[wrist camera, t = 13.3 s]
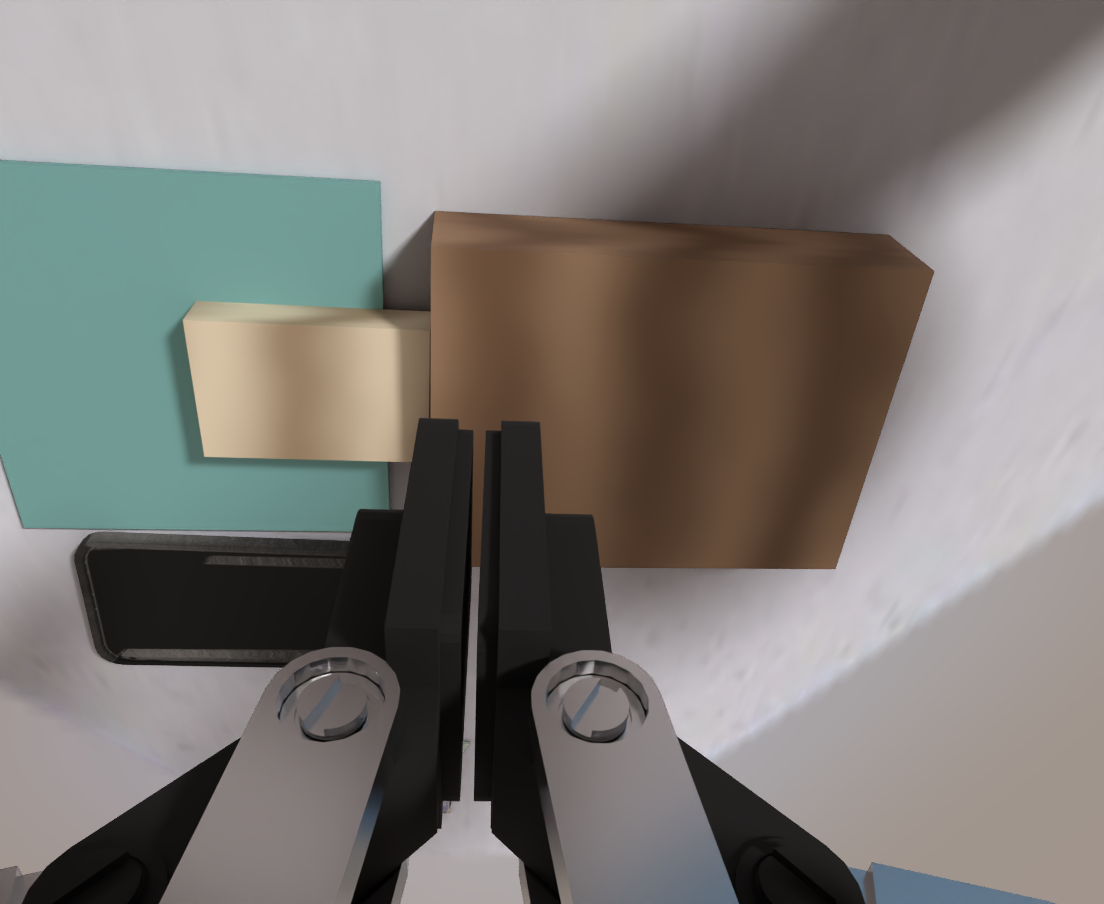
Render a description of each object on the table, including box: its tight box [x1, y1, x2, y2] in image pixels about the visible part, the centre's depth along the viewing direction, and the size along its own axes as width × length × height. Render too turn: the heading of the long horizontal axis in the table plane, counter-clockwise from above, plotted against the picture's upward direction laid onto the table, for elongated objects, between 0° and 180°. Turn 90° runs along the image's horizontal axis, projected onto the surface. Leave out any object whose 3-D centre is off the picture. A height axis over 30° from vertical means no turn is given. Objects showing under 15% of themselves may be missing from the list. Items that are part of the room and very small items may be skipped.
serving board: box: [431, 211, 934, 569], centre depth 35 cm, size 18×14×4 cm
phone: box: [74, 532, 350, 668], centre depth 42 cm, size 8×1×15 cm
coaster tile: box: [183, 301, 431, 462], centre depth 34 cm, size 9×6×2 cm, turn 85°
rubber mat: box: [0, 160, 390, 532], centre depth 35 cm, size 16×16×1 cm
